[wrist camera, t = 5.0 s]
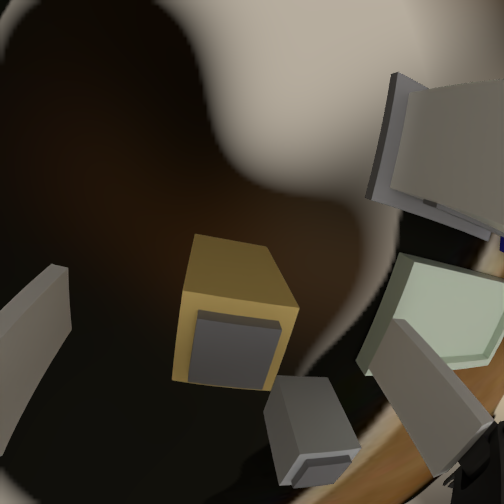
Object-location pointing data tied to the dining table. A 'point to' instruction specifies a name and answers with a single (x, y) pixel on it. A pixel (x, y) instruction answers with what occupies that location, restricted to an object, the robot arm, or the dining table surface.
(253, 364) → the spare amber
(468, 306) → the tray
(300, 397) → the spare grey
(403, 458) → the dining table surface
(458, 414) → the robot arm
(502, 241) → the cable clip
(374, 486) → the dining table surface
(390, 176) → the block
